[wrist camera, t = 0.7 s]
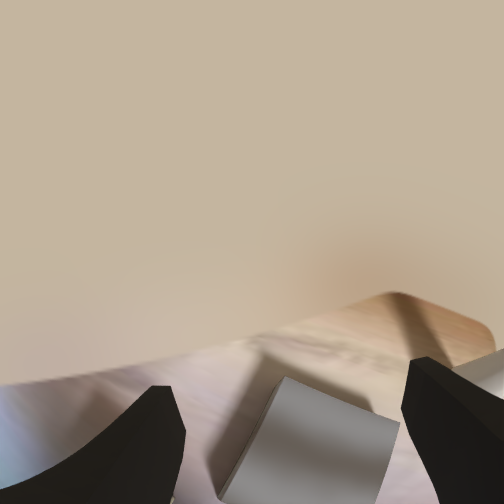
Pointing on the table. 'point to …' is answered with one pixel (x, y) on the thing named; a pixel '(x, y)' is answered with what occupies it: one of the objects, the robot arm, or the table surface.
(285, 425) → the gray plinth
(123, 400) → the table surface
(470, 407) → the robot arm
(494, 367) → the salt shaker
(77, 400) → the table surface
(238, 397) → the table surface
